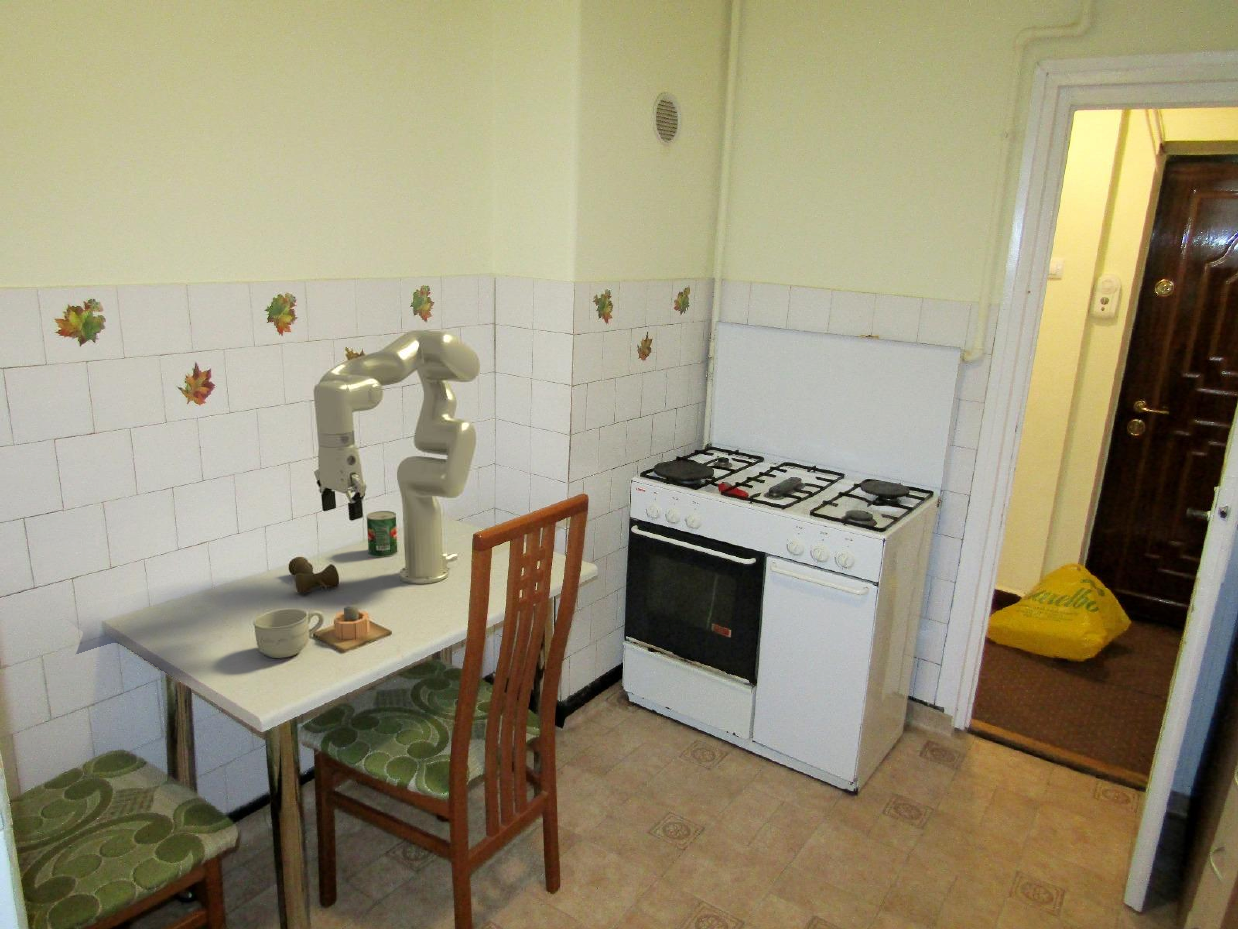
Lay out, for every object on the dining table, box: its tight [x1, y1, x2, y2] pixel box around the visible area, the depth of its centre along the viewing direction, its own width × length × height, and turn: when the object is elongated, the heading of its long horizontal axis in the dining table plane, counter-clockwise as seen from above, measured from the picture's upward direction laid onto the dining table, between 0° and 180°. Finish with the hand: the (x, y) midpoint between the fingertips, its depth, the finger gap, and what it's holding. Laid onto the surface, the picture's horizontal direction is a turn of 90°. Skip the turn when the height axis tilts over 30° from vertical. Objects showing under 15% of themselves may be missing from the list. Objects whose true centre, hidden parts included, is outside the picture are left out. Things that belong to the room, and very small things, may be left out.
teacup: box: [252, 608, 325, 659], centre depth 186 cm, size 14×11×8 cm
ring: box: [333, 609, 370, 639], centre depth 194 cm, size 7×7×4 cm
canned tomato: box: [366, 510, 399, 558], centre depth 244 cm, size 8×8×11 cm
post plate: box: [312, 605, 393, 654], centre depth 194 cm, size 12×12×6 cm
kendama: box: [288, 556, 340, 596], centre depth 221 cm, size 6×10×20 cm
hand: (342, 514), depth 195 cm, fingers open, 9 cm apart
